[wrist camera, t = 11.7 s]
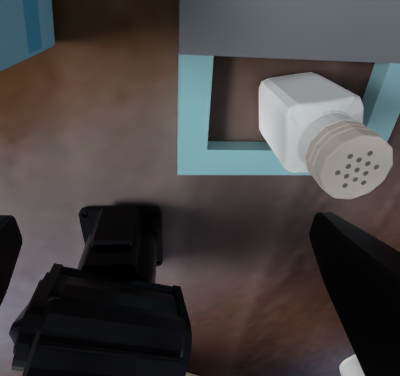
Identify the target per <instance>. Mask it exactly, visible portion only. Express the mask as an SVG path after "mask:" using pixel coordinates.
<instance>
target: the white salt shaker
mask: <svg viewBox="0 0 400 376" xmlns="http://www.w3.org/2000/svg"><path fill="white" fill-rule="evenodd" d="M363 110H364V106H363V103H362V101H361V98H360V96H358V95H356V94H354V93H352V92H350V91H348V90H347V89H345V88H343V87H341V86H339V85H337V84H335V83H334V82H332V81H330V80H328V79H326V78H324V77H322V76H321V75H319V74H317V73H313V72H306V73H299V74H292V75H285V76H278V77H271V78H267V79H265V80H263V81H261V84H260V87H259V130H260V132H261V134H262V136H263V137H264V139H265V140H266V142H267V143H268V145H269V146H270V148H271V149H272V151H273V152H274V154H275V155H276V157H277V158H278V160H279V161H280V163H281V164H282V166H283V167H284V169H285V170H287V171H290V172H293V173H308V172H309V173H310V174H311V175H312V177H313V178H314V179H315V180H316V182H317V183H318V184H319V186H320V187H321V188H322V189H323V190H324V191H325V192H327V193H328V194H329V195H331V196H332V197H333V198H340V199H353V198H356V197H359V196H362V195H365V194H367V193H369V192H371V191H372V190H373V189H374V188H375V187H377V186H378V185H379V184H380V183H382V182H383V181H384V180H385V178H386V176H387V174H388V172H389V171H390V169H391V167H392V165H393V150H392V147H391V146H390V145H389V144H388V143H387V142H386V141H385V140H384V139H383V138H382V137H381V136H380V135H378V134H377V133H375V132H374V131H372V130H371V129H369V128H368V127H366V126H365V125H363V124H362V123H363Z"/></svg>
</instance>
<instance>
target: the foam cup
mask: <svg viewBox="0 0 400 376" xmlns="http://www.w3.org/2000/svg"><path fill="white" fill-rule="evenodd" d="M339 370H340V373H341V376H365V375H364V373H363V370H362V368H361V366H360V364H359V361H358V359H357V357H356V355H355V354H354V355H352V356H350V357H348V358H347V359H345V360H344V361H343V362H342V363H341V364H340V367H339Z"/></svg>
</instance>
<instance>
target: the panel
mask: <svg viewBox="0 0 400 376" xmlns="http://www.w3.org/2000/svg"><path fill="white" fill-rule="evenodd" d="M214 56H229V57H253V58H277V59H302V60H326V61H351V62H375V64H374V67H373V70H372V73H371V76H370V79H369V82H368V85H367V87H366V90H365V93H364V96H363V99H362V103H363V106H364V110H363V123H362V124H363V125H365V126H366V127H368V128H369V129H371V130H372V131H374V132H375V133H377V134H378V135H380V136H381V137H382V138H383V139H384V140H385V141H386V142H388V140H389V137H390V135H391V133H392V130H393V128H394V126H395V123H396V121H397V119H398V116H399V114H400V0H179V42H178V132H177V173H178V175H311V174H310V173H309V172H308V173H293V172H290V171H287V170H285V169H284V167H283V166H282V164H281V163H280V161H279V160H278V158H277V157H276V155H275V154H274V152H273V151H272V149H271V148H270V146H269V145H268V143H267V142H246V141H208V129H209V115H210V101H211V87H212V73H213V58H214Z"/></svg>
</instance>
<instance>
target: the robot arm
mask: <svg viewBox="0 0 400 376" xmlns="http://www.w3.org/2000/svg"><path fill="white" fill-rule="evenodd" d="M153 212H157V214H154V213H153ZM84 213H87V214H88V215H85V214H84ZM79 218H80V223H81V228H82V233H83V237H84V242H85V248H84V251H83V254H82V257H81V260H80V263H79V266H78V269H74V268H69V267H63V265H61V264H56V263H54V265H53V267H52V269H51V271H50V273H49V272H47V273H46V275H45V277H44V279H43V280H40V281H39V283H38V285H37V288H36V290H35V292H34V294H33V296H32V298H31V300H30V302H29V304H28V305H27V306H26V307H25V309H24V310H23V311H22V312H21V314H20V315H19V316H18V317H17V319H16V320H15V321H14V322H13V324H12V327H11V329H10V333H9V335H10V337H11V339H12V340H13V342H14V344H15V345H14V350H13V354H14V358H13V362H12V370H16V371H24V372H23V375H22V376H185V375H186V372H187V369H188V365H189V360H190V354H191V345H192V333H191V325H190V321H189V317H188V313H187V309H186V306H185V302H184V298H183V294H182V291H181V287H180V286H174V285H173V286H167V285H161V284H156V283H155V277H156V266H159V265H161V264H162V262H163V254H162V211H161V209H160V208H159V207H84V208H82V209H81V210H80V212H79ZM309 237H310V241H311V244H312V248H313V251H314V254H315V257H316V260H317V263H318V267H319V270H320V273H321V276H322V279H323V282H324V284H325V286H326V289H327V291H328V293H329V296H330V298H331V300H332V302H333V305H334V307H335V309H336V311H337V314H338V316H339V318H340V321H341V323H342V325H343V327H344V330H345V332H346V334H347V336H348V339H349V341H350V343H351V345H352V348H353V350H354V352H355V355H356V357H357V359H358V361H359V364H360V366H361V368H362V370H363V373H364V375H365V376H400V252H399V251H397V250H395V249H394V248H392V247H390V246H389V245H387V244H385V243H383V242H382V241H380V240H378V239H377V238H375V237H373V236H371V235H370V234H368V233H366V232H365V231H363V230H361V229H359V228H358V227H356V226H354V225H353V224H351V223H349V222H347V221H346V220H344V219H342V218H341V217H339V216H337V215H336V214H334V213H332V212H329V211H321V212H317V213H316V214H315V216H314V219H313V222H312V225H311V228H310V232H309ZM21 246H22V236H21V233H20V230H19V227H18V225H17V222H16V219H15V218H14V217H13V216H11V215H0V305H1V303H2V301H3V299H4V296H5V294H6V291H7V289H8V286H9V283H10V280H11V277H12V274H13V271H14V268H15V264H16V261H17V258H18V255H19V252H20V249H21ZM156 260H159V261H156Z"/></svg>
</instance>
